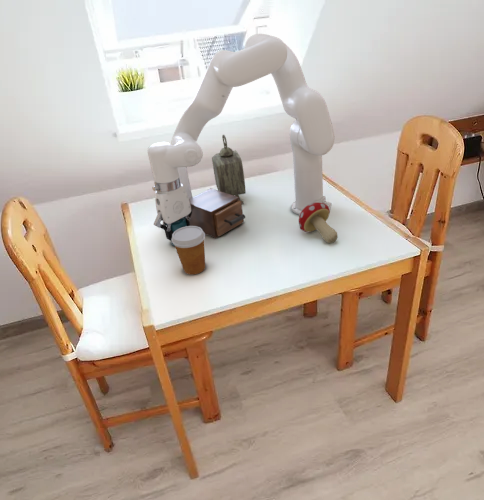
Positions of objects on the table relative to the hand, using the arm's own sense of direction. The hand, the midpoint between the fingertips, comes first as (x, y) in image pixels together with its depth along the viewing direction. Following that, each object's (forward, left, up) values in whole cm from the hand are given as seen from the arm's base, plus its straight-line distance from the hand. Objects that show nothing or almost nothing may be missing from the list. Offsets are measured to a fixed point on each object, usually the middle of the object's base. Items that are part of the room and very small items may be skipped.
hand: (179, 235), depth 142 cm
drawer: (-5, -14, -2) cm, 15 cm away
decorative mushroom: (-35, -28, -3) cm, 45 cm away
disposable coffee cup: (-16, +7, -3) cm, 18 cm away
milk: (+16, -15, -3) cm, 22 cm away
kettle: (0, 0, -3) cm, 3 cm away
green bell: (+8, -32, -3) cm, 33 cm away
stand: (-1, -15, -3) cm, 15 cm away
